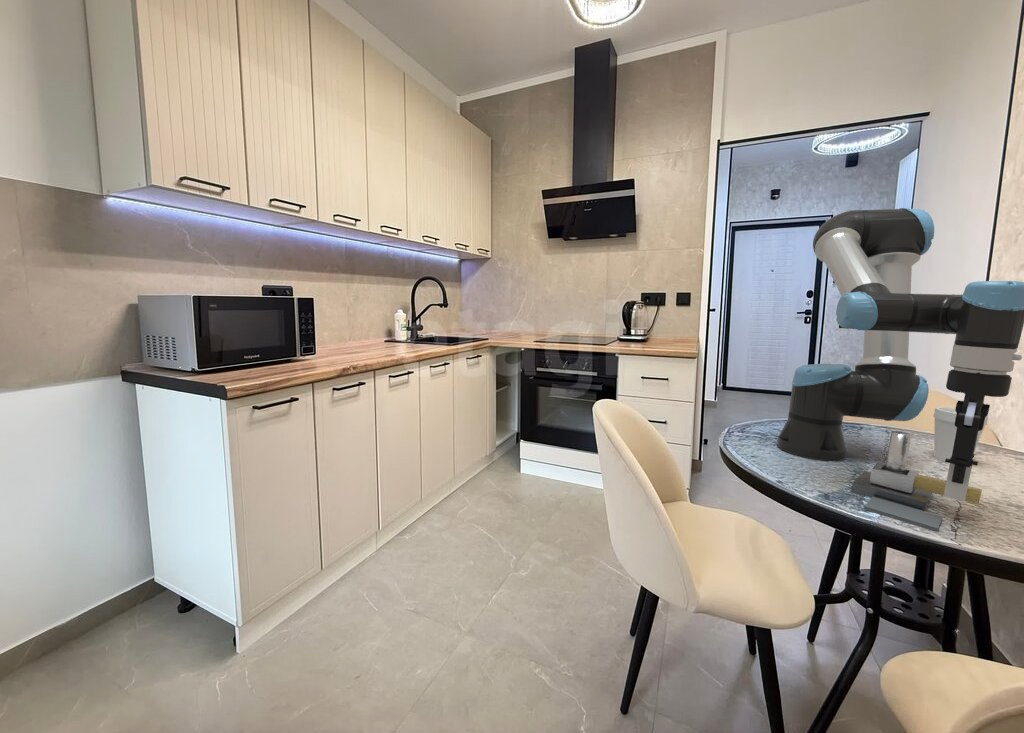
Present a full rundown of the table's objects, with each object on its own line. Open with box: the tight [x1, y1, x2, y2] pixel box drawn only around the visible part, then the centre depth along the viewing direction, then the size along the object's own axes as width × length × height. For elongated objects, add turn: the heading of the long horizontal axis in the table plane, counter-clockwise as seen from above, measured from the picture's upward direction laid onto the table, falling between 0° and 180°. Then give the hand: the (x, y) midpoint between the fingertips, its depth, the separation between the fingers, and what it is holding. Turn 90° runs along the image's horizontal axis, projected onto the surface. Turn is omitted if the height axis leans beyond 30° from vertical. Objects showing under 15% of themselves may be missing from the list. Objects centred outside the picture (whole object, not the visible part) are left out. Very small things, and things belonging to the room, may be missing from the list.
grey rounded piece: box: [933, 406, 989, 463], centre depth 110 cm, size 10×9×13 cm
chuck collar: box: [870, 461, 983, 505], centre depth 84 cm, size 15×6×3 cm, turn 41°
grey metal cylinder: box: [885, 430, 912, 475], centre depth 87 cm, size 3×3×11 cm
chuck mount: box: [850, 470, 933, 511], centre depth 88 cm, size 11×11×2 cm
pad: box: [863, 496, 944, 532], centre depth 79 cm, size 10×7×1 cm
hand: (954, 497), depth 78 cm, fingers closed
